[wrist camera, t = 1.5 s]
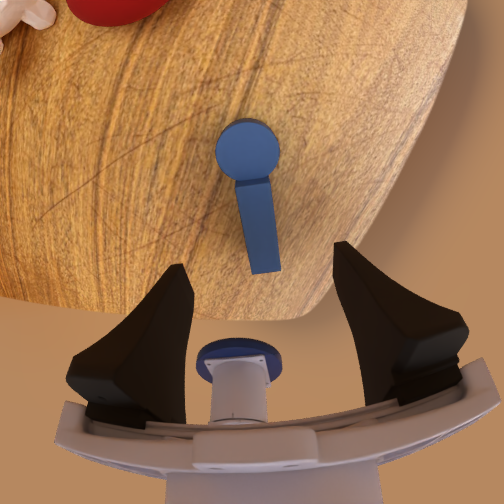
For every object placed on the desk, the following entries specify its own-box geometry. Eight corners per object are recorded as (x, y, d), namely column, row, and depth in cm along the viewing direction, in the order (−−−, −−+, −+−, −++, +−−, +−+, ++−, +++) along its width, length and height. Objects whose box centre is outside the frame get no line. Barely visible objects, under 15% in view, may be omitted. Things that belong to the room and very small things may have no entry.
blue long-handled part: (288, 246, 23) (293, 269, 20) (240, 253, 23) (240, 276, 20) (272, 114, 16) (277, 119, 14) (213, 123, 17) (207, 130, 14)
